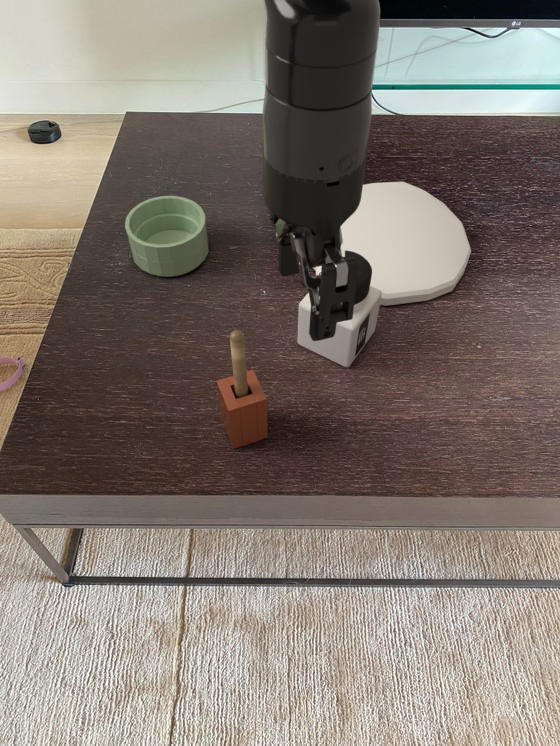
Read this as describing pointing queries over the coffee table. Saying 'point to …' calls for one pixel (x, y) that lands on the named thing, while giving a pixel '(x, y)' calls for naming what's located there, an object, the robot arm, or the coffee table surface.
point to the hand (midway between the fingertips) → (305, 303)
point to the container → (349, 332)
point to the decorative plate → (407, 242)
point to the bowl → (167, 235)
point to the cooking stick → (239, 363)
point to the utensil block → (243, 411)
